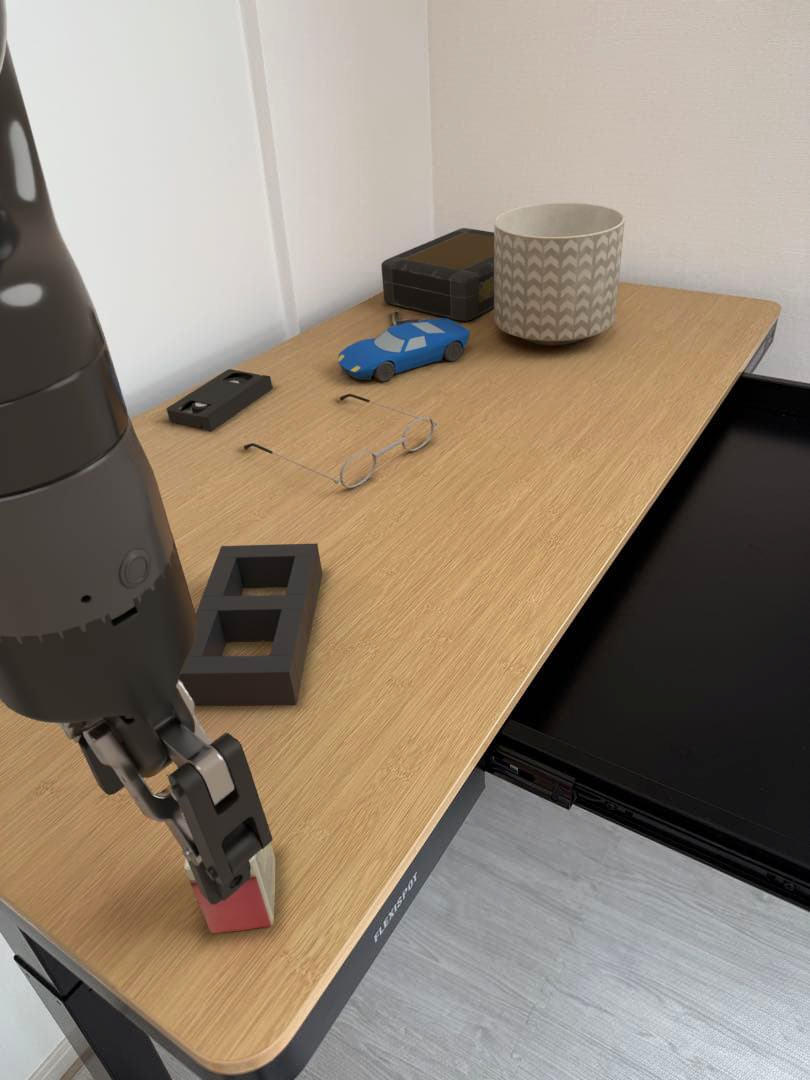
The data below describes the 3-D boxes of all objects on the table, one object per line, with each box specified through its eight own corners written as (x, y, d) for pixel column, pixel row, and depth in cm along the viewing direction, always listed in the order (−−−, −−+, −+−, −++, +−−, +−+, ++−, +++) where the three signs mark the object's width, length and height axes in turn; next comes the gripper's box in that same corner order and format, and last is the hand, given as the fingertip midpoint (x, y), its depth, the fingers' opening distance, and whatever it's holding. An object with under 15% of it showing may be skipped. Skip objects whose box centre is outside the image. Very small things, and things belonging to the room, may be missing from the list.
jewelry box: (460, 265, 160) (459, 225, 155) (546, 281, 149) (548, 239, 144) (378, 303, 145) (374, 260, 141) (466, 324, 134) (466, 279, 130)
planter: (632, 351, 121) (645, 228, 110) (511, 366, 120) (513, 243, 109) (589, 308, 136) (598, 197, 126) (482, 321, 135) (481, 209, 124)
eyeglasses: (341, 498, 93) (336, 469, 91) (243, 454, 104) (237, 426, 102) (441, 437, 103) (439, 409, 101) (342, 403, 115) (338, 377, 112)
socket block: (296, 704, 68) (289, 672, 65) (183, 706, 68) (172, 673, 66) (322, 573, 82) (317, 542, 80) (228, 576, 83) (221, 545, 80)
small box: (216, 866, 56) (191, 798, 51) (277, 858, 56) (257, 789, 51) (209, 936, 52) (181, 869, 47) (274, 928, 52) (253, 860, 47)
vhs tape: (231, 380, 122) (228, 368, 121) (272, 388, 119) (270, 376, 118) (168, 421, 112) (164, 408, 111) (211, 431, 109) (208, 418, 108)
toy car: (331, 369, 123) (327, 339, 120) (442, 337, 130) (441, 307, 127) (358, 391, 116) (354, 359, 113) (474, 355, 124) (474, 324, 121)
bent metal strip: (426, 314, 136) (407, 323, 133) (426, 322, 136) (407, 331, 134) (395, 307, 140) (375, 315, 137) (395, 315, 141) (376, 323, 138)
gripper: (-125, 533, 29) (27, 799, 39) (62, 722, 21) (195, 999, 31) (61, 450, 34) (156, 708, 43) (276, 582, 26) (335, 864, 35)
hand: (173, 829), depth 37 cm, fingers open, 8 cm apart
